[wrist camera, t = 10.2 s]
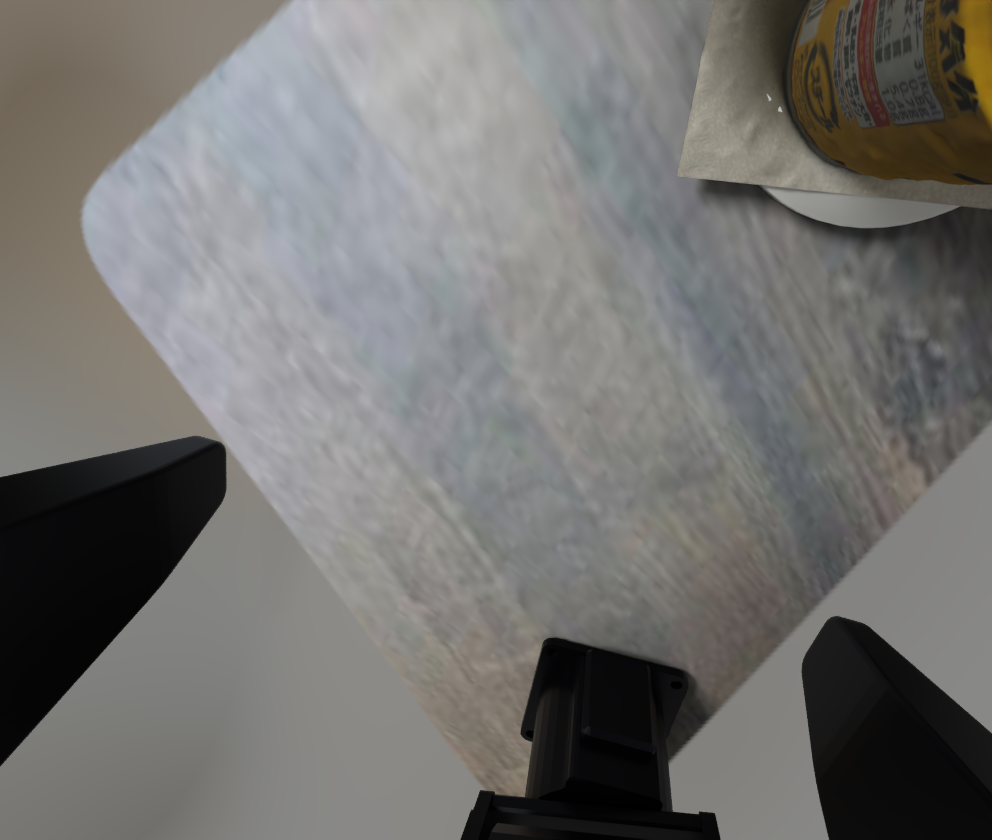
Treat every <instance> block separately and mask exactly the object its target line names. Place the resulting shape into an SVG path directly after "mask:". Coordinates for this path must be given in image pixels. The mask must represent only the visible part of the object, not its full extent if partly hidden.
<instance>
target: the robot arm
mask: <svg viewBox="0 0 992 840" xmlns="http://www.w3.org/2000/svg"><path fill="white" fill-rule="evenodd" d="M225 493H226V449H225V446H224V445H223V444H222V443H221V442H218V441H215V440H211V439H208V438H205V437H201V436H192V437H187V438H182V439H177V440H172V441H168V442H163V443H158V444H154V445H149V446H144V447H140V448H135V449H130V450H126V451H121V452H117V453H112V454H107V455H102V456H98V457H93V458H88V459H84V460H79V461H74V462H69V463H65V464H60V465H56V466H51V467H46V468H41V469H36V470H32V471H27V472H22V473H18V474H13V475H9V476H4V477H0V766H1V765H2V764H3V763H4V762H5V761H6V760H7V758H8V757H9V756H10V755H11V754H12V753H13V752H14V751H15V749H16V748H17V747H18V746H19V745H20V744H21V743H22V742H23V740H24V739H25V738H26V737H27V736H28V735H29V734H30V733H31V732H32V730H33V729H34V728H35V727H36V726H37V725H38V724H39V723H40V721H41V720H42V719H43V718H44V717H45V716H46V715H47V714H48V712H49V711H50V710H51V709H52V708H53V707H54V706H55V705H56V704H57V702H58V701H59V700H60V699H61V698H62V696H64V694H65V693H66V692H67V691H68V690H69V689H70V688H71V687H72V686H73V684H74V683H75V682H76V681H77V680H78V679H79V678H80V677H81V676H82V674H83V673H84V672H85V671H86V670H87V669H88V668H89V667H90V665H91V664H92V663H93V662H94V661H95V660H96V659H97V658H98V656H99V655H100V654H101V653H102V652H103V651H104V650H105V649H106V648H107V646H108V645H109V644H110V643H111V642H112V641H113V639H114V638H115V637H116V636H117V635H118V634H119V633H120V632H121V631H122V630H123V628H124V627H125V626H126V625H127V624H128V623H129V622H130V621H131V620H132V618H133V617H134V616H135V615H136V614H137V613H138V612H139V610H140V609H141V608H142V607H143V606H144V605H145V604H146V603H147V602H148V600H149V599H150V598H151V597H152V596H153V595H154V593H155V592H156V591H157V590H158V589H159V588H160V587H161V585H162V584H163V583H164V582H165V580H166V579H167V578H168V576H169V575H170V574H171V573H172V571H173V570H174V569H175V567H176V566H177V564H178V563H179V562H180V560H181V559H182V557H183V556H184V555H185V553H186V552H187V550H188V549H189V548H190V546H191V545H192V544H193V542H194V541H195V539H196V538H197V537H198V535H199V534H200V533H201V531H202V530H203V528H204V527H205V526H206V524H207V523H208V521H209V520H210V518H211V517H212V516H213V515H214V513H215V512H216V510H217V509H218V508H219V506H220V505H221V503H222V501H223V499H224V497H225ZM551 649H555V650H551ZM802 680H803V688H804V695H805V703H806V711H807V719H808V727H809V734H810V742H811V750H812V758H813V765H814V772H815V778H816V784H817V788H818V793H819V798H820V803H821V807H822V811H823V815H824V819H825V824H826V828H827V833H828V837H829V840H992V733H991V732H990V731H988V730H987V729H986V728H985V727H984V726H983V725H982V724H980V723H979V722H978V721H977V720H976V719H975V718H973V717H972V716H971V715H970V714H969V713H968V712H967V711H965V710H964V709H963V708H962V707H961V706H960V705H958V704H957V703H956V702H955V701H954V700H953V699H952V698H950V697H949V696H948V695H947V694H946V693H945V692H944V691H942V690H941V689H940V688H939V687H938V686H936V685H935V684H934V683H933V682H932V681H931V680H930V679H928V678H927V677H926V676H925V675H924V674H923V673H922V672H920V671H919V670H918V669H917V668H916V667H915V666H914V665H912V664H911V663H910V662H909V661H908V660H907V659H905V658H904V657H903V656H902V655H901V654H900V653H899V652H897V651H896V650H895V649H894V648H893V647H891V645H889V644H888V643H887V642H886V641H885V640H884V639H882V638H881V637H880V636H879V635H878V634H876V632H874V631H873V630H872V629H871V628H870V627H868V626H867V625H865V624H863V623H861V622H857V621H854V620H850V619H846V618H842V617H839V616H835V617H831V618H830V619H828V620H827V621H826V623H825V624H824V626H823V627H822V629H821V630H820V632H819V634H818V635H817V637H816V638H815V640H814V642H813V643H812V645H811V646H810V648H809V650H808V651H807V653H806V655H805V657H804V659H803V663H802ZM673 681H679V682H673ZM687 689H688V679H687V676H686V674H685V673H684V672H683V671H680V670H678V669H674V668H670V667H666V666H662V665H658V664H654V663H650V662H646V661H643V660H639V659H635V658H631V657H627V656H623V655H619V654H615V653H611V652H608V651H604V650H600V649H596V648H592V647H588V646H584V645H580V644H576V643H573V642H569V641H565V640H561V639H557V638H548V639H546V640H544V642H543V644H542V648H541V652H540V656H539V660H538V663H537V667H536V671H535V675H534V679H533V683H532V687H531V691H530V694H529V698H528V702H527V706H526V710H525V714H524V718H523V722H522V726H521V735H522V737H523V738H524V739H526V740H528V741H531V742H532V750H531V757H530V764H529V771H528V778H527V786H526V793H525V797H517V796H507V795H497V794H495V792H494V791H484V790H480V792H479V795H478V798H477V801H476V804H475V807H474V809H473V810H471V812H470V814H469V817H468V821H467V823H466V826H465V829H464V832H463V834H462V837H461V840H720V835H719V830H718V826H717V821H716V817H715V813H708V812H699V814H689V813H679V812H673V810H672V799H671V788H670V777H669V766H668V756H667V745H666V739H667V736H668V734H669V732H670V729H671V727H672V724H673V722H674V720H675V717H676V715H677V713H678V710H679V708H680V706H681V703H682V701H683V699H684V696H685V694H686V692H687Z"/></svg>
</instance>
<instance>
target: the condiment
mask: <svg viewBox="0 0 992 840" xmlns="http://www.w3.org/2000/svg"><path fill="white" fill-rule="evenodd" d="M767 94H768V96H769V97H770V98H771V100H770V101H769V98H768V96H767ZM779 107H781V110H782V112H779V111H778V109H779ZM677 176H680V177H690V178H699V179H708V180H718V181H728V182H737V183H746V184H756V185H768V186H775V187H784V188H794V189H803V190H813V191H822V192H832V193H841V194H851V195H860V196H870V197H879V198H889V199H898V200H908V201H917V202H927V203H936V204H946V205H955V206H964V207H974V208H983V209H992V0H714V3H713V7H712V11H711V16H710V21H709V26H708V31H707V36H706V40H705V45H704V49H703V53H702V57H701V62H700V69H699V74H698V79H697V84H696V89H695V93H694V98H693V103H692V107H691V112H690V117H689V121H688V126H687V132H686V136H685V141H684V146H683V151H682V156H681V160H680V166H679V170H678V175H677Z"/></svg>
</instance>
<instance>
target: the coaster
mask: <svg viewBox="0 0 992 840" xmlns="http://www.w3.org/2000/svg"><path fill="white" fill-rule="evenodd" d="M767 96H768V94H767ZM768 98H769V101H770V100H771V98H770V97H769V96H768ZM778 111H779V112H782V110H781V107H779V109H778ZM759 186H760V187H761V188H762V189H763V190H764V191H765V192H766V193H768V194H769V195H770V196H771V197H772V198H774V199H775V200H776V201H777V202H779V203H781V204H782V205H784V206H786V207H787V208H789V209H791V210H792V211H794V212H797V213H799V214H802V215H804V216H807V217H809V218H812V219H815V220H819V221H822V222H826V223H831V224H835V225H839V226H846V227H855V228H885V227H892V226H899V225H906V224H910V223H914V222H918V221H922V220H926V219H930V218H933V217H935V216H938V215H940V214H943V213H946V212H948V211H951V210H954V209H956V208H958V207H960V206H955V205H946V204H936V203H927V202H917V201H908V200H898V199H889V198H879V197H870V196H860V195H851V194H841V193H832V192H822V191H813V190H803V189H794V188H784V187H775V186H768V185H759Z"/></svg>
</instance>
